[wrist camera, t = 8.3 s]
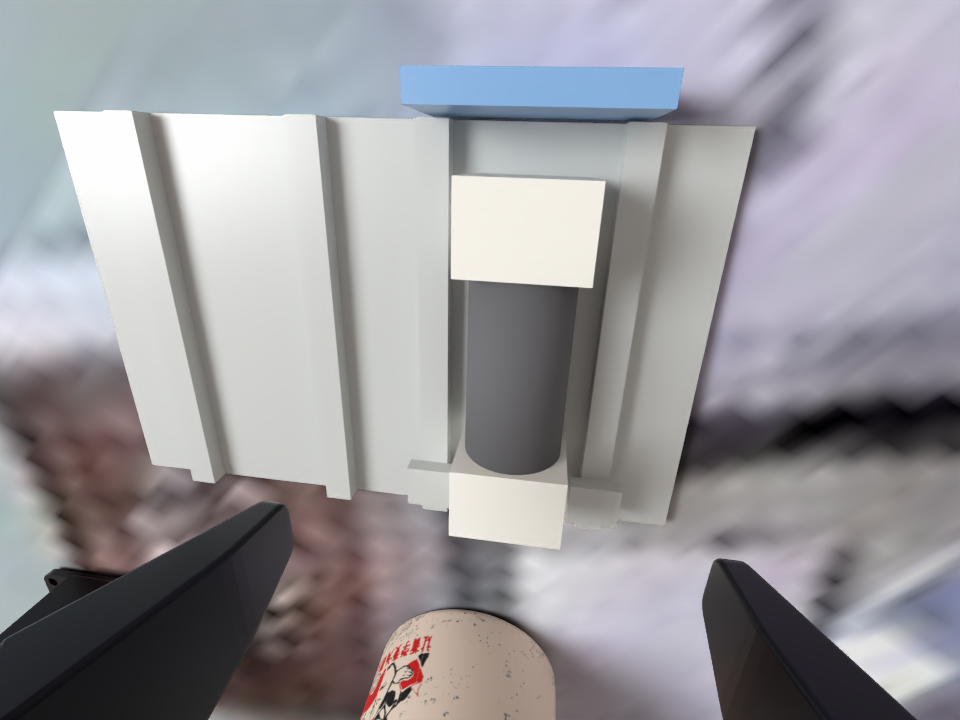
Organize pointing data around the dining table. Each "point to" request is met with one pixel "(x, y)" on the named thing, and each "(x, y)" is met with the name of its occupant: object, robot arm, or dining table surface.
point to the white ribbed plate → (402, 278)
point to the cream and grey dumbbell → (518, 347)
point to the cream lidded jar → (461, 671)
